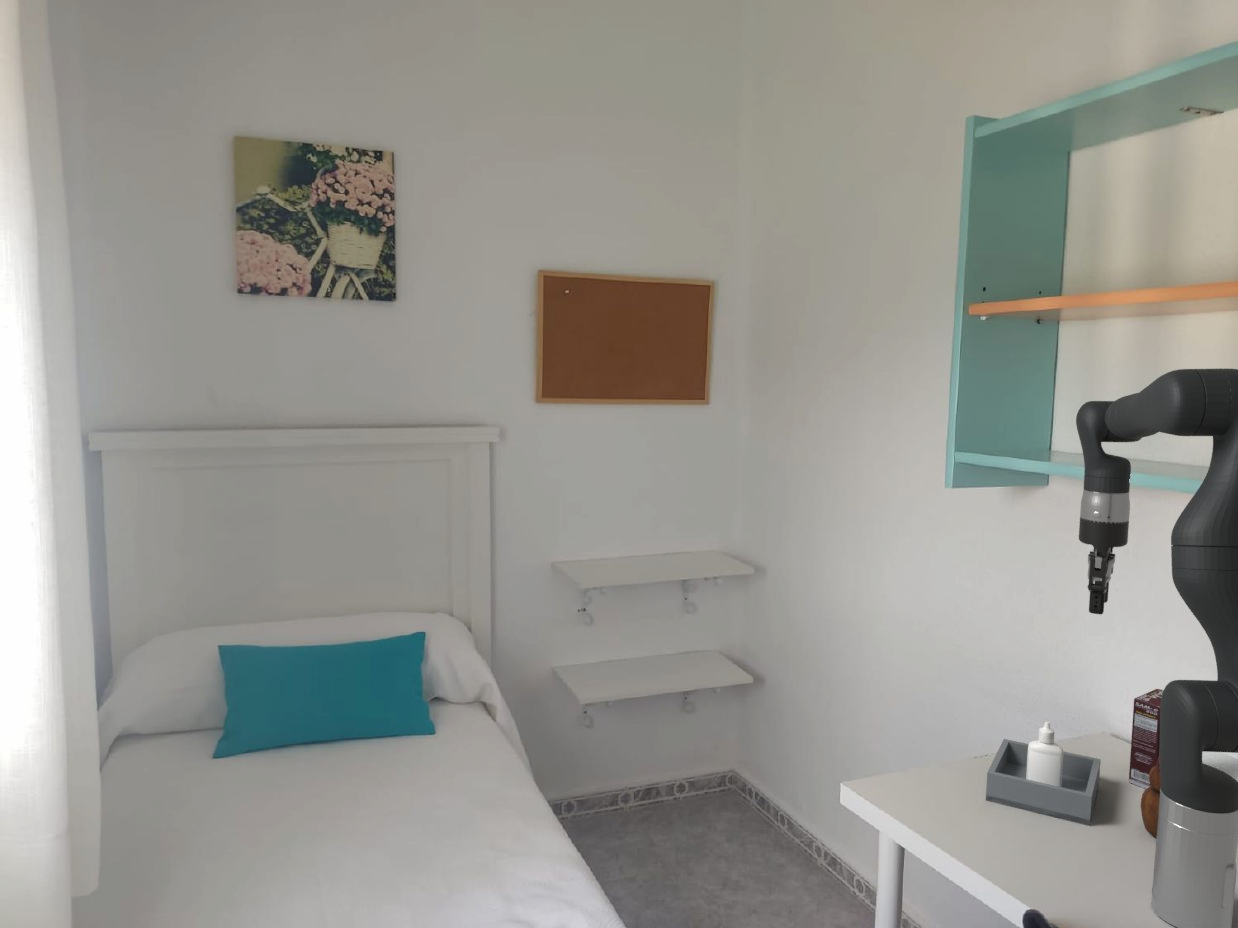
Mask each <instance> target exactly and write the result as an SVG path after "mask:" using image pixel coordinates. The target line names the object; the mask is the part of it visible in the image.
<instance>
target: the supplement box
mask: <svg viewBox="0 0 1238 928" xmlns="http://www.w3.org/2000/svg"><path fill="white" fill-rule="evenodd" d="M1163 691H1164V689H1160V688H1155V689H1153V690H1151V691H1149V692H1146V693H1144V694H1142V695H1139V696H1137V697H1135V698H1134V699H1133V710H1132V713H1133V714H1132V724H1131V725H1132V726H1131V727H1132V728H1131V729H1132V730H1131V743H1130V755H1129V756H1130V757H1129V760H1130V761H1129V771H1128V774H1129V775H1128V783H1129V782H1130V783H1129V784H1131V783H1132V784H1131V785H1134V786H1136V785H1137V787H1138V788H1142V789H1144V790H1145V789H1147V788H1148V787H1150V786H1151V785H1150V782H1149V773H1150V771H1151V769H1152V767H1154V766H1155V765H1156V763H1157V759H1158V756H1159V747H1160V704H1161V697H1162V694H1163Z"/></svg>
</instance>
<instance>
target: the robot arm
mask: <svg viewBox="0 0 1238 928" xmlns="http://www.w3.org/2000/svg"><path fill="white" fill-rule="evenodd" d="M1075 424H1076V430H1077V434H1078V438H1079V441H1080V446H1081V449H1082V456H1083V463H1084V473H1083V474H1084V476H1083V489H1082V496H1081V500H1080V509H1079V510H1080V513H1079V514H1080V515H1079V528H1078V529H1079V530H1078V540H1079V541H1080V543H1083V544H1085V545H1091V546H1092V547H1093V549H1092V551H1091V550H1090V551H1089V554H1088V555H1087V564H1088V567H1087V568H1088V570H1087V579H1088V585H1087V589H1088V592H1089V601H1088V603H1089V604H1088V612H1089V613H1090V614H1093V615H1103V614H1104V612H1105V611H1104V610H1105V604H1106V603H1107V602H1108V600H1109V587H1110V581H1111V580H1112V577H1111V576H1112V575H1113V573H1114V568H1115V567H1114V566H1115V565H1114V564H1115V562H1116V553H1114V548H1121V547H1125V546H1126V545H1127V544H1128V542H1129V528H1130V526H1129V524H1130V515H1131V514H1130V511H1131V500H1130V486H1131V482H1130V483H1129V479H1130V480H1131V476H1130V474H1132V472H1131V471H1132V466H1131V465H1132V464H1131V462H1130V460H1129V459H1127V458H1126V457H1122V456H1118V455H1114V454H1108V453H1106V451H1105V450H1104V448H1103V446H1102V443H1134V442H1135V443H1136V442H1139V441H1141V440H1142V438H1146V437H1151V436H1153V435H1156V434H1158V433H1163V434H1168V435H1173V436H1177V437H1212V452H1211V458H1210V463H1209V467H1208V471H1207V473H1206V475H1205V477H1204V479H1203V481H1202V483H1201V484H1200V486H1199V488H1198V489H1197V490H1196V492H1195V493H1194V494H1193V496H1192V497H1191V499H1190V500H1189V501H1188V503H1187V504H1186V505H1185V507H1184V508H1183V510H1182V512H1181V513H1180V515H1179V516H1178V518H1177V520H1176V521H1175V524H1174V526H1173V528H1172V530H1171V535H1170V545H1171V547H1170V550H1171V551H1170V553H1171V578H1172V582H1173V584H1174V587H1175V589H1176V590H1177V592H1178V595H1179V596H1180V597H1181V599H1182V601H1183V602H1184V603H1185V606H1187V608H1188V609H1189V611H1190V612H1191V613H1192V615H1193V616H1194V617H1195V618H1196V621H1198V624H1200V626H1201V628H1202V630H1203V631H1204V632H1205V634H1206V636H1207V637H1208V639H1209V641H1210V645H1211V647H1212V649H1213V654H1214V658H1215V663H1216V673H1217V680H1207V679H1206V680H1204V679H1203V680H1201V679H1175V680H1174V679H1173V680H1171V681H1169V682H1168V683H1167V684H1166V685H1165V687H1164V688H1163V690H1164V691H1163V694H1162V697H1161V704H1160V747H1159V765H1160V774H1161V785H1160V800H1159V813H1158V825H1157V837H1156V838H1155V839H1156V840H1155V851H1154V852H1155V853H1154V863H1153V864H1154V865H1153V876H1152V887H1151V901H1150V903H1151V904H1150V905H1151V908H1152V910H1153V912H1154V913H1155V914H1156V915H1157V916H1158V917H1159V918H1160V919H1162V921H1164V922H1165V923H1167V924H1169V925H1171V926H1173V927H1176V928H1233V917H1234V905H1235V892H1236V883H1237V882H1236V881H1237V853H1238V780H1236V778H1234V777H1233V776H1231V775H1229V774H1228V773H1227V772H1225V771H1223V770H1220V769H1219V768H1216V767H1214V766H1212V765H1208V764H1205V763H1204V762H1203V752H1206V753H1208V752H1209V753H1211V752H1213V753H1232V754H1233V753H1234V754H1238V369H1237V368H1183V369H1182V368H1181V369H1175V370H1172V371H1171V370H1170V371H1168V372H1166V373H1163V374H1162V375H1161V376H1159V377H1157V378H1156V379H1155V380H1153V381H1152V382H1151V383H1150V384H1148V385H1146V386H1145V387H1144V388H1143V389H1142V390H1141V391H1139V392H1136V393H1132V394H1128V395H1124V396H1122V397H1120V398H1118V399H1115V400H1090V401H1086V402H1085V403H1083V404H1082V405H1081V406H1080V408H1079V409H1078V411H1077V414H1076V417H1075Z"/></svg>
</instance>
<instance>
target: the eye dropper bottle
mask: <svg viewBox="0 0 1238 928" xmlns="http://www.w3.org/2000/svg"><path fill="white" fill-rule="evenodd" d="M1050 724H1051V723H1050V722H1049V721H1045V722H1044V725H1043V726H1042V727H1039V729H1038V739H1037V740H1031V741H1030V742H1028V744H1029V745H1028V754H1027V771H1026V779H1028V780H1032V781H1037V782H1041V783H1045V784H1050V785H1054V786H1058V787H1061V785H1062V769H1063V751H1064V748H1062V746H1061V745H1059V744H1058V743H1056V742H1055V730H1054V729H1053V728H1051V725H1050Z"/></svg>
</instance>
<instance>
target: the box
mask: <svg viewBox="0 0 1238 928" xmlns="http://www.w3.org/2000/svg"><path fill="white" fill-rule="evenodd" d="M1028 745H1029V743H1025V742H1021V741H1016V740H1011V739H1006V738H1003V740H1002V742H1001V744H1000V746H999V748H998V749H997V752H996V754H995V757H994V758H993V760H992V763H991V764H990V765H989V768H988V769H987V772H986V790H985V792H986V793H985V801H987V802H990V803H991V802H993V803H996V804H999V805H1005V806H1007V807H1012V808H1016V809H1020V810H1024V811H1028V812H1032V813H1037V814H1041V815H1045V816H1047V817H1048V816H1049V817H1052V818H1056V819H1061V820H1065V821H1069V822H1072V823H1076V824H1081V825H1085V826H1089V827H1090V826H1091V821H1092V817H1093V813H1094V808H1095V806H1096V805H1095V803H1096V800H1097V795H1098V790H1099V786H1100V775H1101V773H1100V772H1101V761H1102V760H1101V758H1097V757H1092V756H1087V755H1082V754H1078V753H1073V752H1068V751H1064V750H1063V769H1062V785H1061V787H1058V786H1054V785H1050V784H1045V783H1041V782H1037V781H1032V780H1028V779H1026V771H1027V754H1028Z"/></svg>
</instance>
